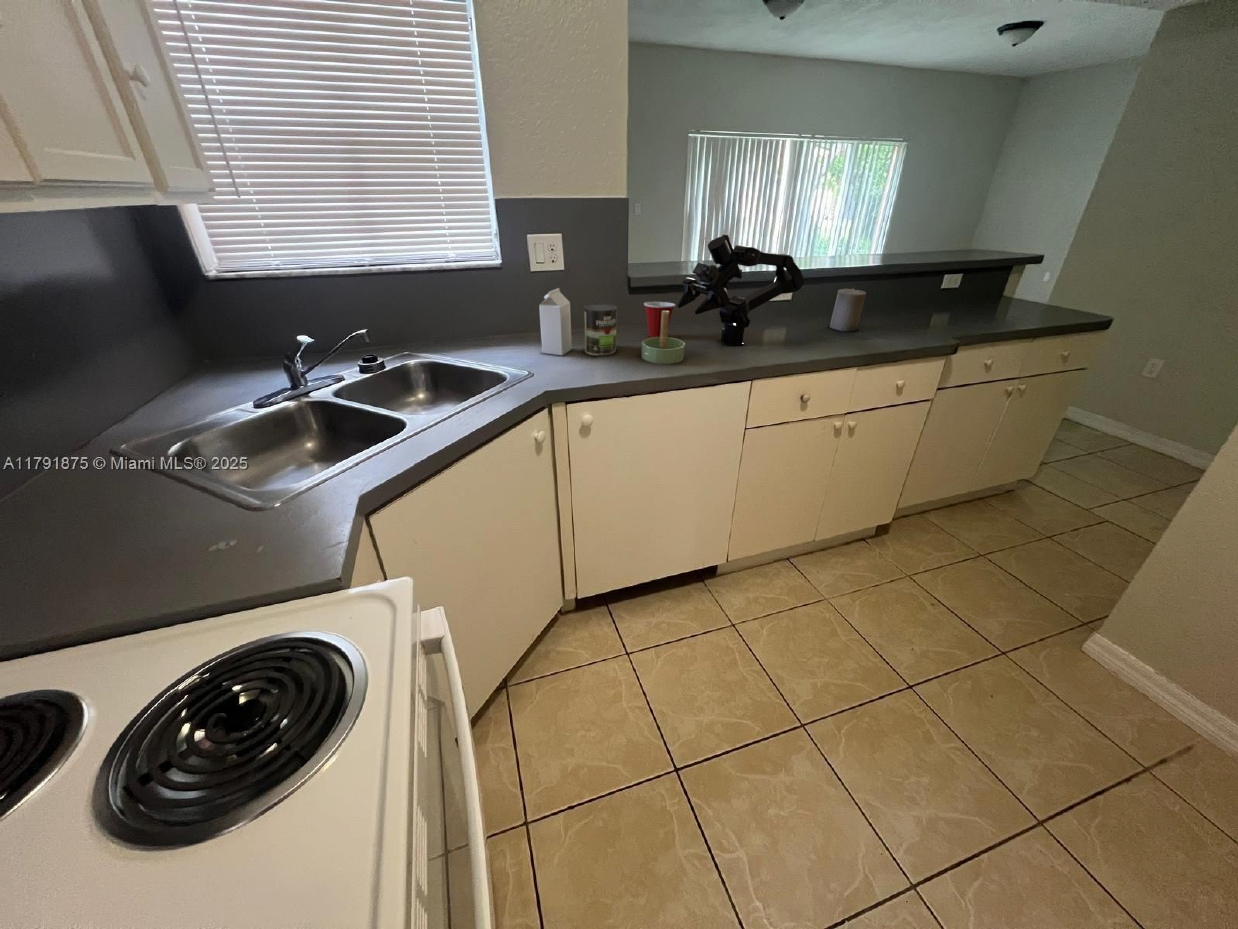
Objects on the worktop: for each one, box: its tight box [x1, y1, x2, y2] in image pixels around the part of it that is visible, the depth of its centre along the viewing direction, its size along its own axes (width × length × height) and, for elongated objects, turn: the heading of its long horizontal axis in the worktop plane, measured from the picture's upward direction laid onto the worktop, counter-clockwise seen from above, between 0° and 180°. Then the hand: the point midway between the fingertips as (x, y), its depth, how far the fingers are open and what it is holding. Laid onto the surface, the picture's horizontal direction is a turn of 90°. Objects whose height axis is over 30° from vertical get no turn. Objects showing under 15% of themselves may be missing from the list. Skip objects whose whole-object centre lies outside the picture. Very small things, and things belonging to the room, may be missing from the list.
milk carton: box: [538, 287, 572, 356], centre depth 151 cm, size 7×7×19 cm
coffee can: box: [583, 302, 618, 357], centre depth 154 cm, size 10×10×14 cm
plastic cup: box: [643, 301, 676, 338], centre depth 169 cm, size 11×11×12 cm
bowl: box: [640, 336, 686, 365], centre depth 151 cm, size 13×13×5 cm
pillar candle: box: [829, 287, 867, 333], centre depth 183 cm, size 10×10×15 cm
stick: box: [659, 310, 669, 349], centre depth 148 cm, size 5×5×14 cm
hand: (686, 309), depth 152 cm, fingers open, 9 cm apart
